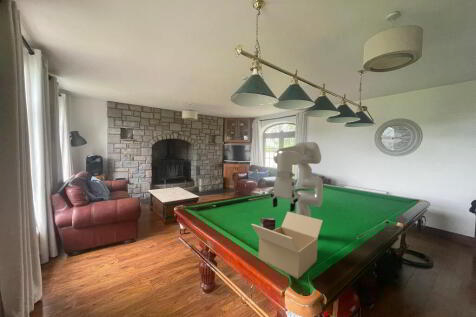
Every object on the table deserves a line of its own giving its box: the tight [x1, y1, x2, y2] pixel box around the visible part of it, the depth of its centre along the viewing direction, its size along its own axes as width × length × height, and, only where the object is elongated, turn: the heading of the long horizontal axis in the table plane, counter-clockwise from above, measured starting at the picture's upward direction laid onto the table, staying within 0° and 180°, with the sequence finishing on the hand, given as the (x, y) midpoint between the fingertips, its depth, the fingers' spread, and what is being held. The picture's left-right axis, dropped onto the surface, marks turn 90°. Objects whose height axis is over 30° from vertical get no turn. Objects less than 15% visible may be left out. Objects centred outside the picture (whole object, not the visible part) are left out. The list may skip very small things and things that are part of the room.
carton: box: [257, 226, 319, 280], centre depth 96 cm, size 22×22×12 cm
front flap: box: [250, 223, 298, 253], centre depth 86 cm, size 11×22×1 cm
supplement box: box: [259, 217, 276, 230], centre depth 114 cm, size 9×5×16 cm, turn 108°
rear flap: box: [280, 211, 324, 238], centre depth 107 cm, size 11×22×1 cm
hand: (283, 208), depth 92 cm, fingers open, 9 cm apart
